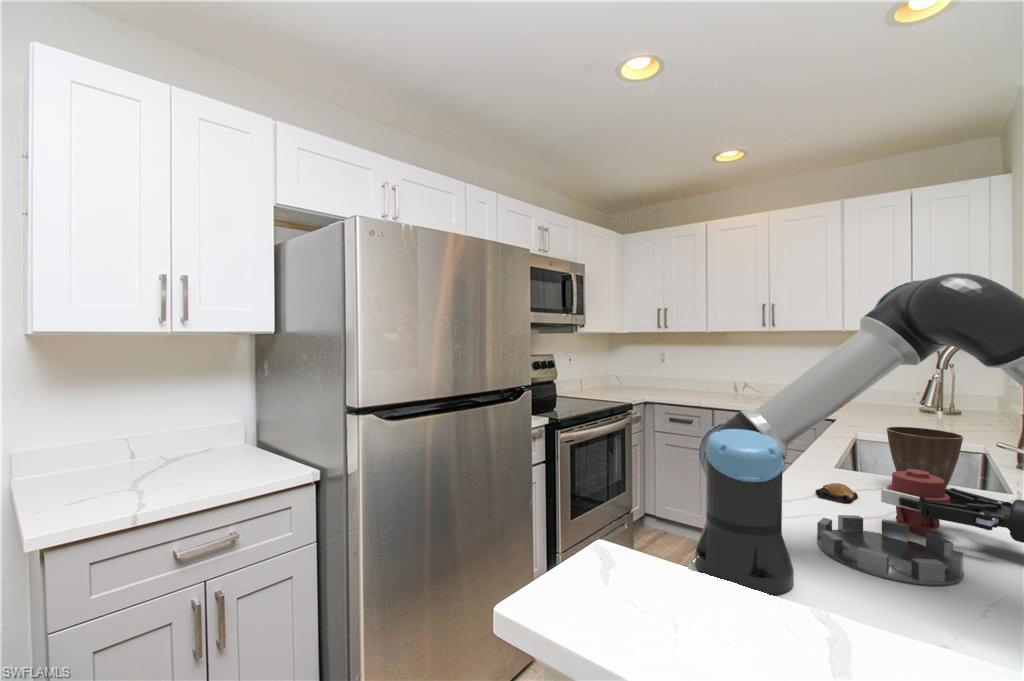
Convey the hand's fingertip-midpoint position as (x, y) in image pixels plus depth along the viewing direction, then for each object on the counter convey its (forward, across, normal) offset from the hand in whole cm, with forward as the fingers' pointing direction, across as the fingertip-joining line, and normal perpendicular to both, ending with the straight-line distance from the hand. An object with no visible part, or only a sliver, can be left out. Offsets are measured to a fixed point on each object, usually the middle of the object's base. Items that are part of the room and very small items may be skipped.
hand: (892, 490), depth 102 cm
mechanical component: (-4, 0, -7) cm, 8 cm away
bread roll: (+15, +9, -8) cm, 19 cm away
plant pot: (+4, +31, -7) cm, 32 cm away
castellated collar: (-6, -20, -7) cm, 22 cm away
